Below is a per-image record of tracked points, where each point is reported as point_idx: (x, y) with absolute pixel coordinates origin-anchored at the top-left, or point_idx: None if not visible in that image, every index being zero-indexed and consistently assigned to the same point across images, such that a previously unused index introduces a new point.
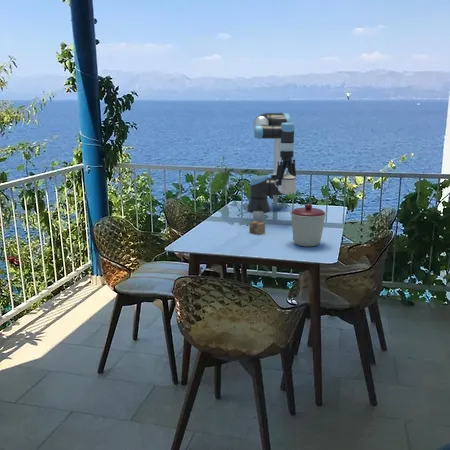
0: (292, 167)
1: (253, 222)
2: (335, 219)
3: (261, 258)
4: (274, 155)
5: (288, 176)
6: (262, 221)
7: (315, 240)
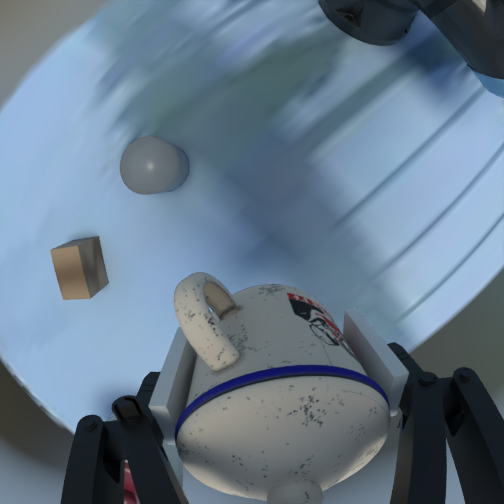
0: (477, 483)
1: (60, 260)
2: (450, 304)
3: (28, 392)
4: None
5: (242, 494)
6: (168, 190)
7: None
